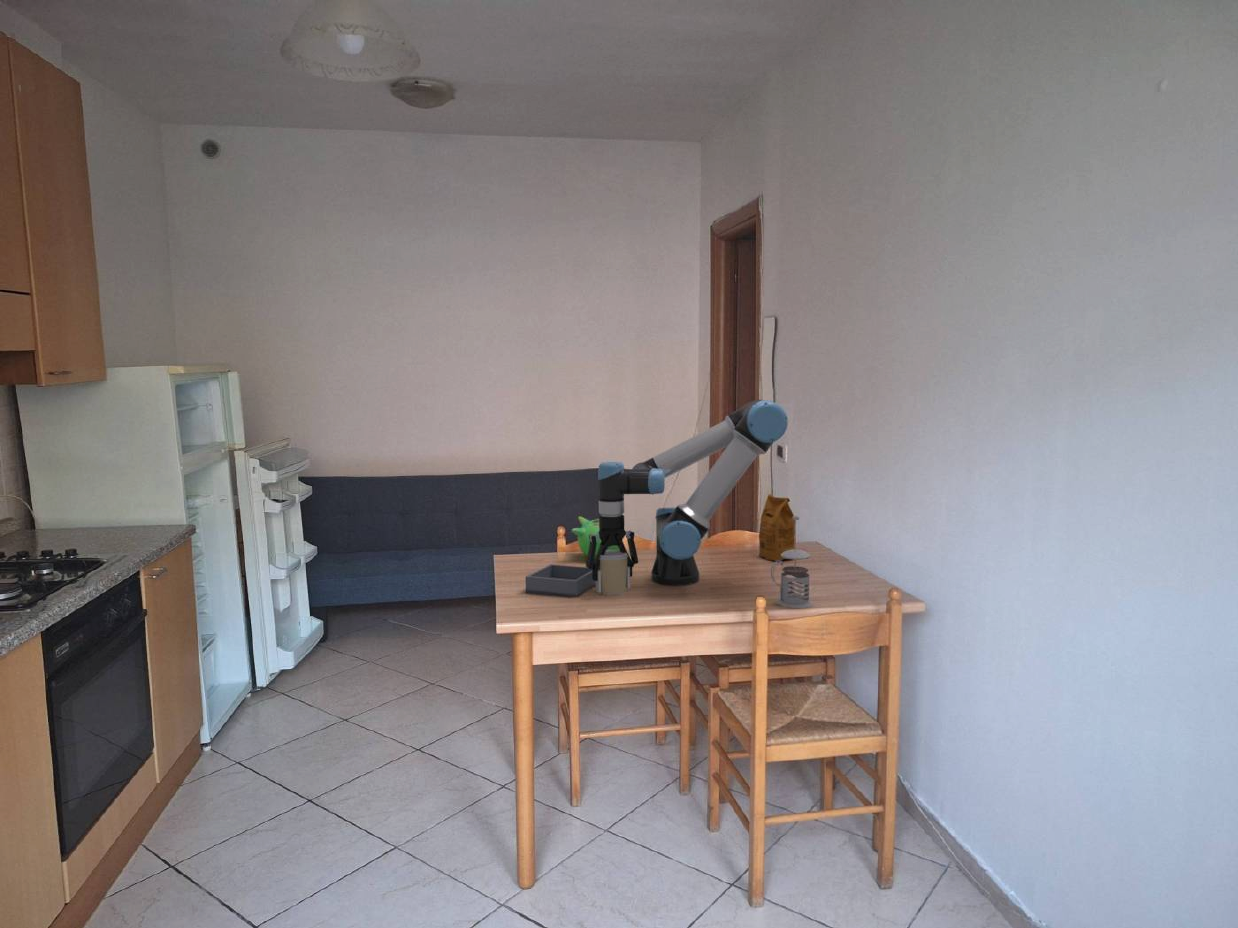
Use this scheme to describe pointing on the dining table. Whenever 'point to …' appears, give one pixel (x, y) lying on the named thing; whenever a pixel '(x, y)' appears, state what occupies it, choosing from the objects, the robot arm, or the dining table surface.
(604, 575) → the coffee cup
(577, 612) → the dining table surface
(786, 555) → the french press
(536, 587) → the bin
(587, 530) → the green round figure
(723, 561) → the dining table surface
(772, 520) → the coffee package
